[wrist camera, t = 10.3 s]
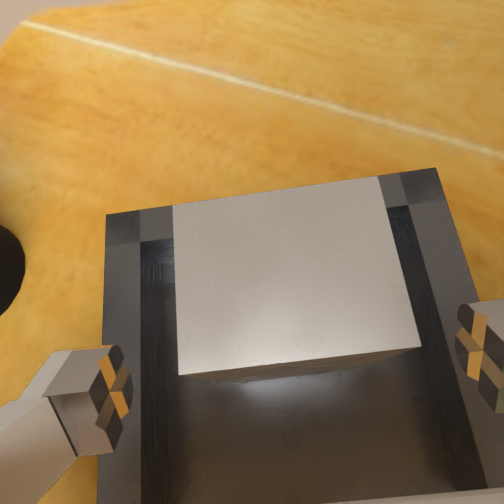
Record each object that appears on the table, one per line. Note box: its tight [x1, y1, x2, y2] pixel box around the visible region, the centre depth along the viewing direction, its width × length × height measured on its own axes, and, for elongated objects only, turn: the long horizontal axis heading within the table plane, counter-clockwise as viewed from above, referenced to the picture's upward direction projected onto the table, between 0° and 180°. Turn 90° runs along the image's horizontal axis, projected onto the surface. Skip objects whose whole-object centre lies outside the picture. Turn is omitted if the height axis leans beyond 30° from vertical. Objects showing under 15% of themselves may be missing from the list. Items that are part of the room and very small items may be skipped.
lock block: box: [172, 176, 421, 383], centre depth 13 cm, size 4×5×9 cm
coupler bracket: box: [97, 167, 504, 504], centre depth 15 cm, size 14×14×4 cm
